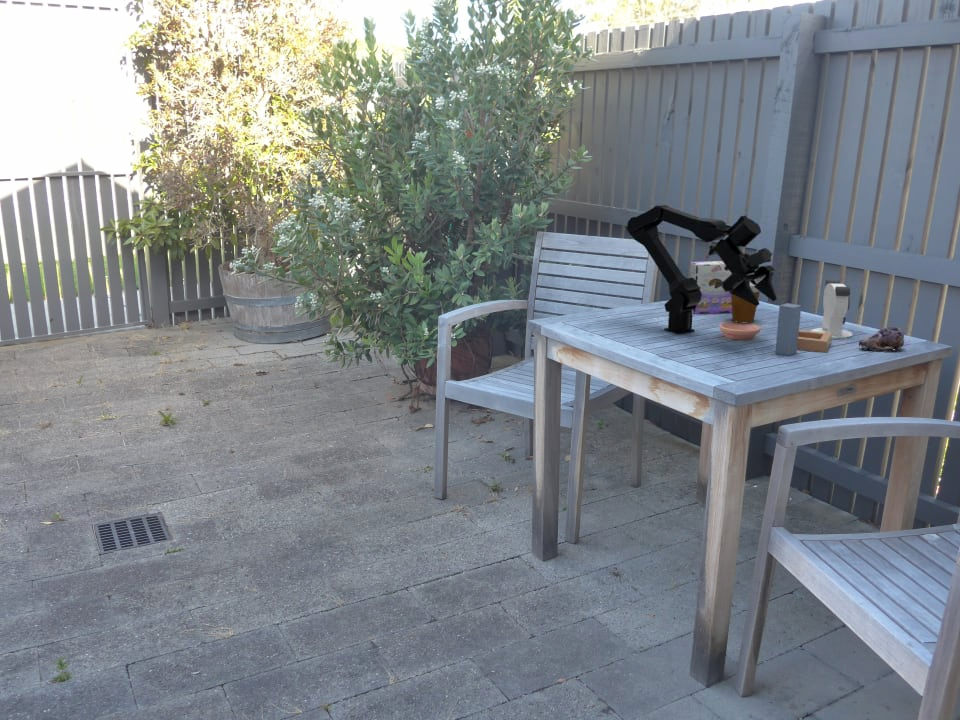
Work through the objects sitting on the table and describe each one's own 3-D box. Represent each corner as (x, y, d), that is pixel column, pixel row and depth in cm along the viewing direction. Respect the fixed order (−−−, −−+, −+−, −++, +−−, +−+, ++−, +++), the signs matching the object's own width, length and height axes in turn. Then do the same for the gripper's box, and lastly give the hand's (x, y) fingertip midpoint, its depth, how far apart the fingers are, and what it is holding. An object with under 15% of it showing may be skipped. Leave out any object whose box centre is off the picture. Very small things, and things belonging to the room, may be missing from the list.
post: (775, 352, 226) (779, 305, 222) (782, 350, 228) (787, 303, 225) (789, 355, 223) (793, 307, 219) (796, 352, 226) (801, 305, 222)
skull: (863, 353, 226) (865, 330, 224) (851, 345, 233) (853, 324, 231) (907, 352, 226) (910, 330, 224) (894, 345, 233) (897, 324, 231)
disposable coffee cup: (762, 324, 257) (766, 286, 254) (731, 324, 257) (734, 286, 254) (753, 317, 266) (756, 280, 263) (723, 317, 267) (726, 280, 263)
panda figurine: (858, 339, 239) (864, 287, 235) (817, 338, 240) (823, 287, 236) (845, 329, 251) (850, 280, 247) (806, 328, 252) (811, 279, 248)
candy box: (728, 309, 278) (732, 260, 274) (734, 313, 273) (738, 263, 268) (687, 310, 277) (690, 260, 273) (693, 314, 272) (696, 263, 267)
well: (784, 347, 231) (786, 337, 230) (791, 339, 239) (792, 329, 239) (825, 352, 226) (826, 341, 225) (830, 343, 234) (832, 333, 234)
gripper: (735, 242, 220) (770, 289, 215) (771, 235, 232) (805, 280, 228) (707, 268, 228) (740, 314, 223) (743, 261, 240) (775, 304, 235)
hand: (766, 302), depth 227 cm, fingers open, 9 cm apart
